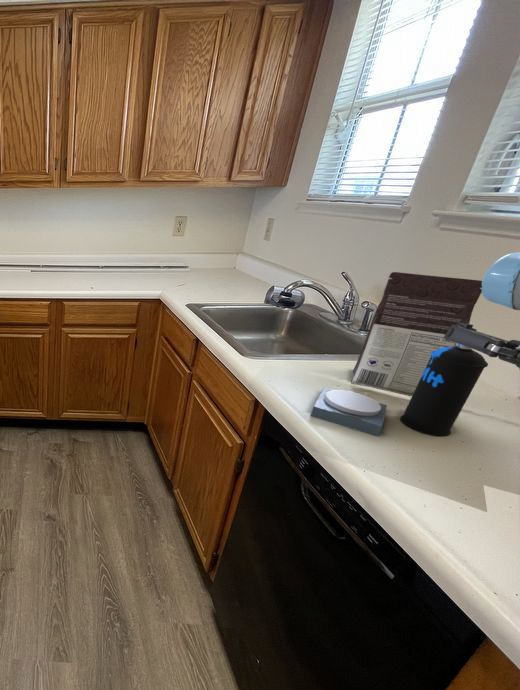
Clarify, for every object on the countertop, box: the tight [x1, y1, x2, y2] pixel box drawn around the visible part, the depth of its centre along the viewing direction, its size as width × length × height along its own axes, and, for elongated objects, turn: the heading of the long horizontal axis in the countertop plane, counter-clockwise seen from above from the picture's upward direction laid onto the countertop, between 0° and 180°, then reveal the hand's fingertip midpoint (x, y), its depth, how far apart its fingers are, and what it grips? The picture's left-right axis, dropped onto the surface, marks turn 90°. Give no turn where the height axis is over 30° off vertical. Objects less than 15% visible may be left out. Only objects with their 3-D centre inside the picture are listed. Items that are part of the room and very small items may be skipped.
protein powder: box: [350, 271, 482, 397], centre depth 99 cm, size 16×9×28 cm, turn 54°
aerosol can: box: [399, 344, 489, 437], centre depth 85 cm, size 8×8×20 cm
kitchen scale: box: [310, 387, 388, 437], centre depth 92 cm, size 12×12×3 cm
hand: (503, 342), depth 75 cm, fingers open, 13 cm apart
